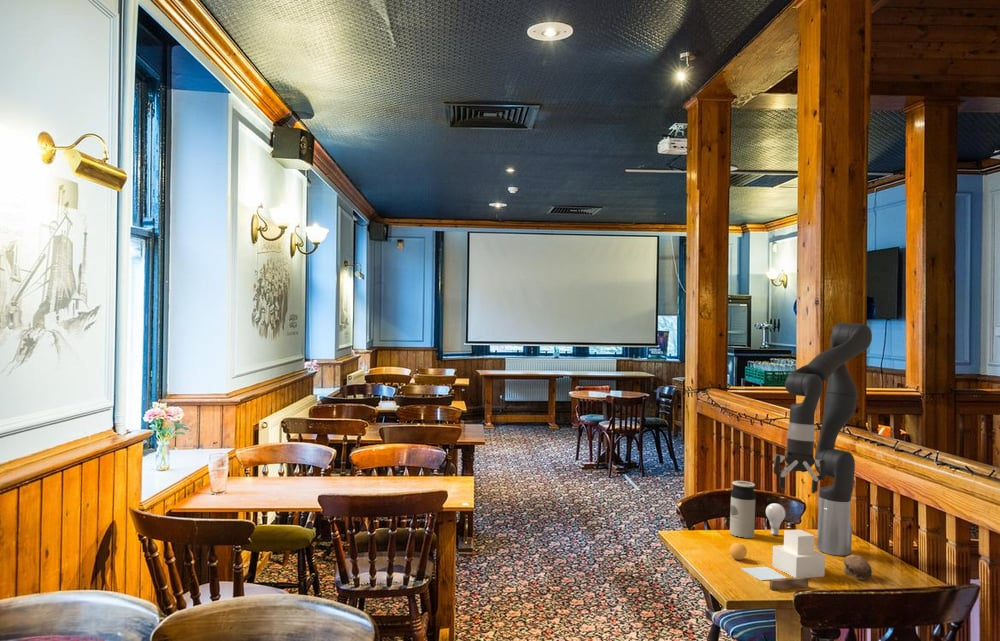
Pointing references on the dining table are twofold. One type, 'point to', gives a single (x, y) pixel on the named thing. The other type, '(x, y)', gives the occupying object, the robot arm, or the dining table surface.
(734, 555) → the ball
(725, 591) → the dining table surface
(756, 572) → the beer mat mark
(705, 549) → the dining table surface
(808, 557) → the stepped white block
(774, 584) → the strip
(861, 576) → the brown stone
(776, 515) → the lightbulb
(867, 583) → the dining table surface
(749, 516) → the travel mug
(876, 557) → the dining table surface
